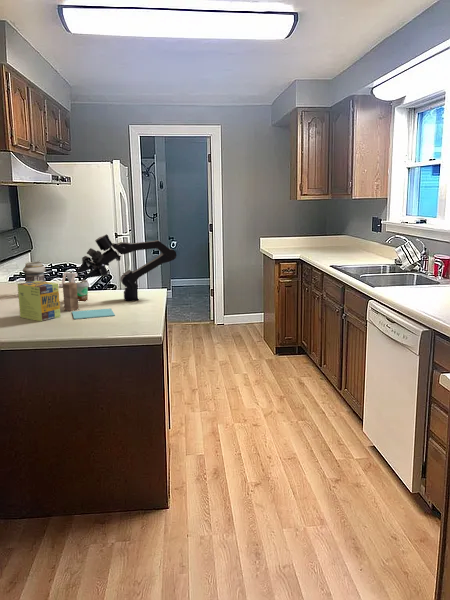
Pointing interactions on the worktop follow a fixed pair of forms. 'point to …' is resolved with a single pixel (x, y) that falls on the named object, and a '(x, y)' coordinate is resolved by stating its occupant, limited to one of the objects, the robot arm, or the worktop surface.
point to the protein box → (39, 300)
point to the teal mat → (93, 313)
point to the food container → (82, 290)
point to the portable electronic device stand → (70, 278)
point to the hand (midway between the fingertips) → (80, 274)
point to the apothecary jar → (34, 271)
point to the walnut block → (70, 296)
